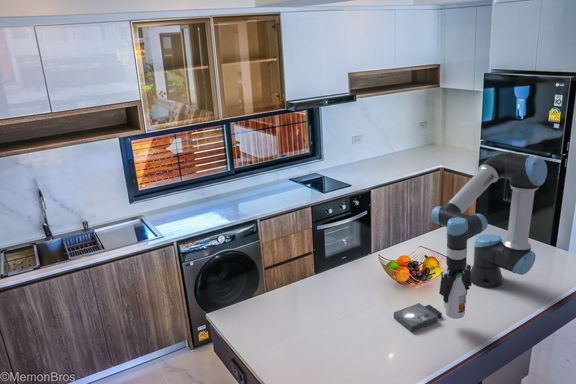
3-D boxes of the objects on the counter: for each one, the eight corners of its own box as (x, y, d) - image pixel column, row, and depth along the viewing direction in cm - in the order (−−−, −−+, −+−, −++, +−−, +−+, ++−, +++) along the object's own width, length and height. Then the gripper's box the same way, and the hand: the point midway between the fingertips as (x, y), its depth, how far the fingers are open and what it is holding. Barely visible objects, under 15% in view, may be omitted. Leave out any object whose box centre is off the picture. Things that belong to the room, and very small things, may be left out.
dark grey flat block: (426, 306, 217) (426, 300, 216) (445, 319, 206) (445, 313, 205) (393, 318, 210) (393, 312, 209) (411, 332, 199) (411, 326, 198)
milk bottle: (452, 321, 195) (453, 278, 188) (441, 311, 202) (442, 269, 195) (468, 316, 196) (470, 273, 190) (457, 306, 203) (458, 265, 197)
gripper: (469, 245, 197) (467, 293, 205) (429, 259, 189) (429, 308, 197) (483, 252, 190) (480, 301, 198) (443, 267, 183) (442, 317, 191)
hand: (455, 305), depth 198 cm, fingers closed on milk bottle, 8 cm apart
